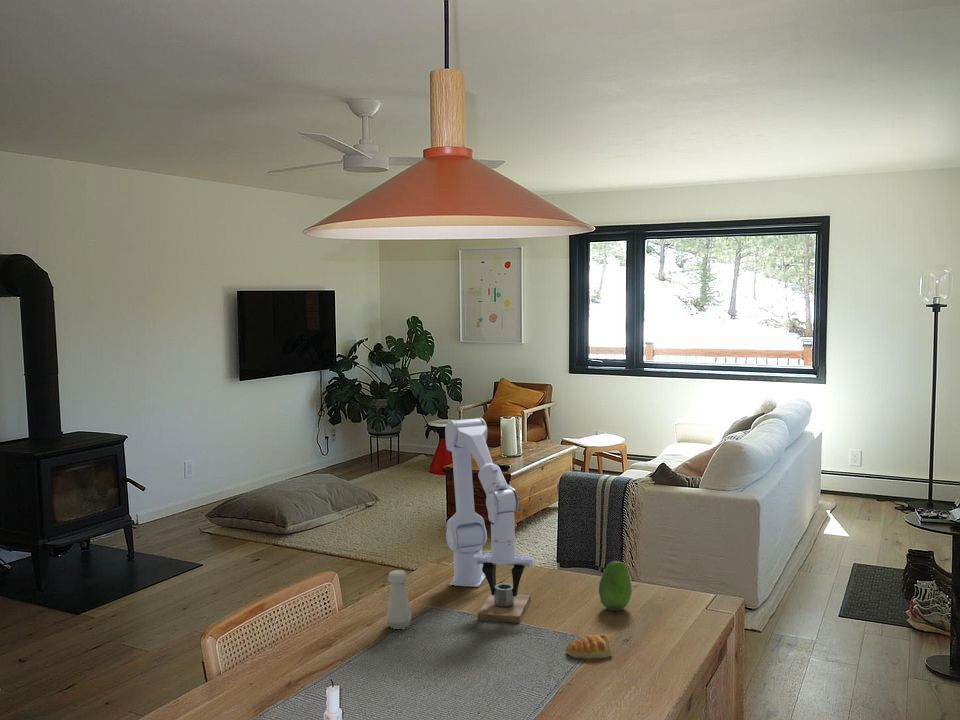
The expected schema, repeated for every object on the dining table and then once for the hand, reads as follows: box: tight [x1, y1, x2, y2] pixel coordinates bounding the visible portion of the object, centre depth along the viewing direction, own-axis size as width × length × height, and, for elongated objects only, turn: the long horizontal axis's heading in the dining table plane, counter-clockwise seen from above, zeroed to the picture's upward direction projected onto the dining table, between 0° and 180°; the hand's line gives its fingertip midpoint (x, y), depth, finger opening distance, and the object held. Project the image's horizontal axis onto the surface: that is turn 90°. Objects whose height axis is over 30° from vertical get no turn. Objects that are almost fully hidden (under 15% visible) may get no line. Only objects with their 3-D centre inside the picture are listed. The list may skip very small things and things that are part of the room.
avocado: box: [598, 560, 632, 612], centre depth 196 cm, size 8×8×12 cm
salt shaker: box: [385, 569, 412, 630], centre depth 190 cm, size 6×6×13 cm
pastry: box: [565, 632, 613, 660], centre depth 173 cm, size 9×7×4 cm
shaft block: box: [477, 593, 531, 624], centre depth 198 cm, size 14×10×5 cm
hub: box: [494, 582, 515, 607], centre depth 198 cm, size 5×5×4 cm
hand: (504, 594), depth 198 cm, fingers closed on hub, 5 cm apart
